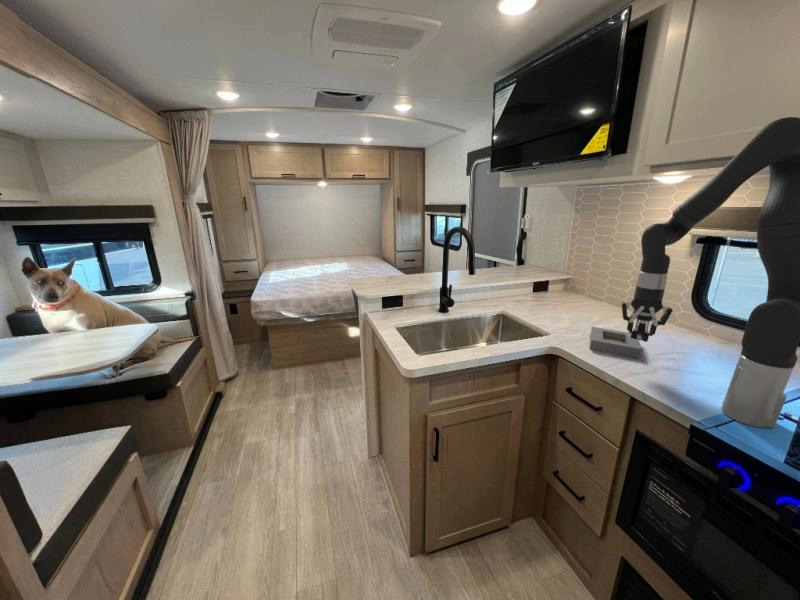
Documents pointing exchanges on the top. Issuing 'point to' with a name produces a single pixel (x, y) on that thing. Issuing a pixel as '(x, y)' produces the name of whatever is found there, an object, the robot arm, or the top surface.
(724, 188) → the robot arm
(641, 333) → the push button
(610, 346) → the housing
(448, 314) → the top surface
